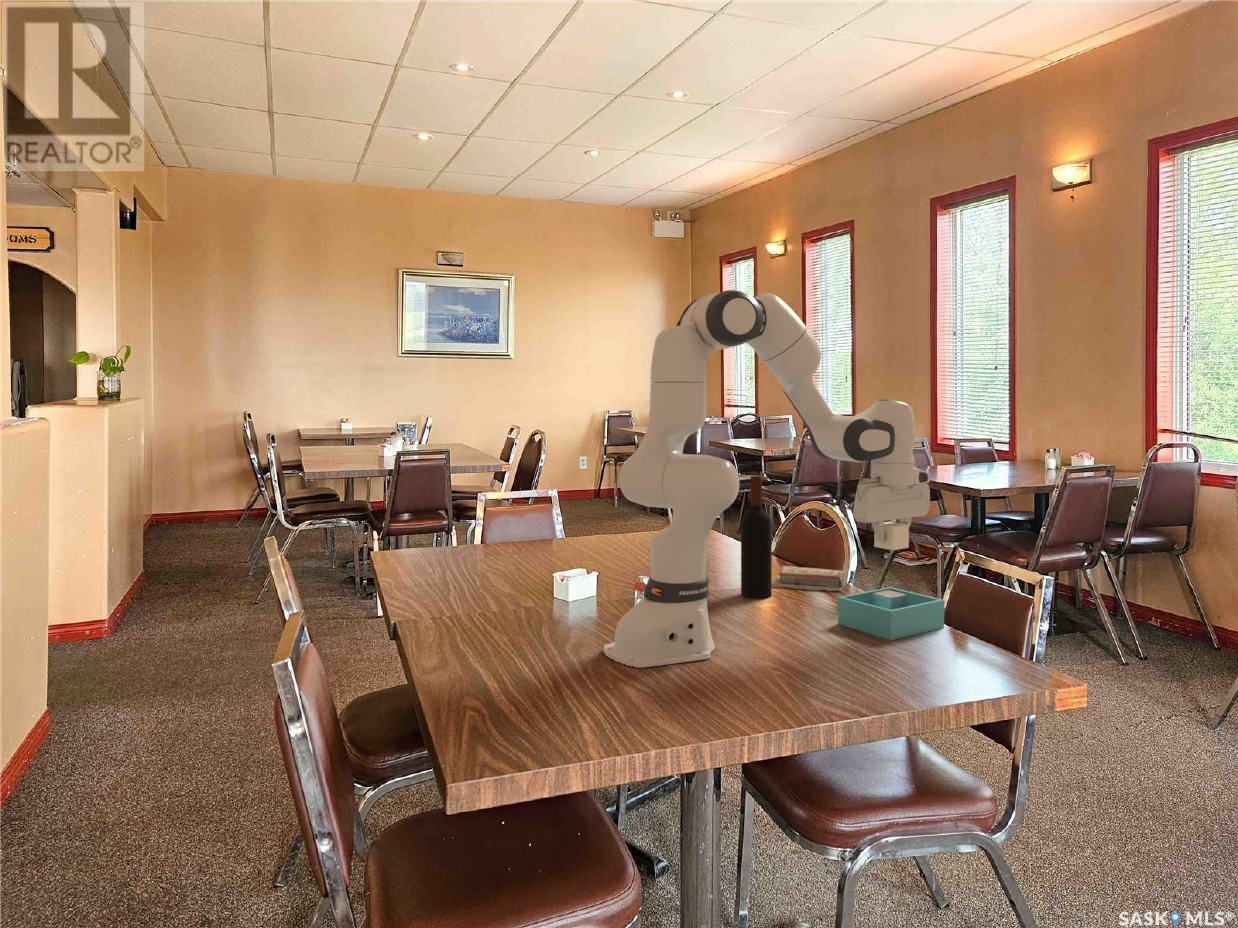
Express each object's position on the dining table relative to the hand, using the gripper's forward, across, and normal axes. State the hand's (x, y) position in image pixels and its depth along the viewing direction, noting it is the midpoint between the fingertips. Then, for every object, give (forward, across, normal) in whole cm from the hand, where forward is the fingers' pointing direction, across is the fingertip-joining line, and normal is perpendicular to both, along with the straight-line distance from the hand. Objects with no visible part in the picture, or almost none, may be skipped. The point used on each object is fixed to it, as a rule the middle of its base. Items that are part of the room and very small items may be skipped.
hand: (891, 539), depth 180 cm
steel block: (+18, 0, 0) cm, 18 cm away
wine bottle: (+19, -6, +37) cm, 42 cm away
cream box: (+2, 0, 0) cm, 2 cm away
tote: (+19, 0, 0) cm, 19 cm away
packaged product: (+20, +13, +38) cm, 44 cm away
